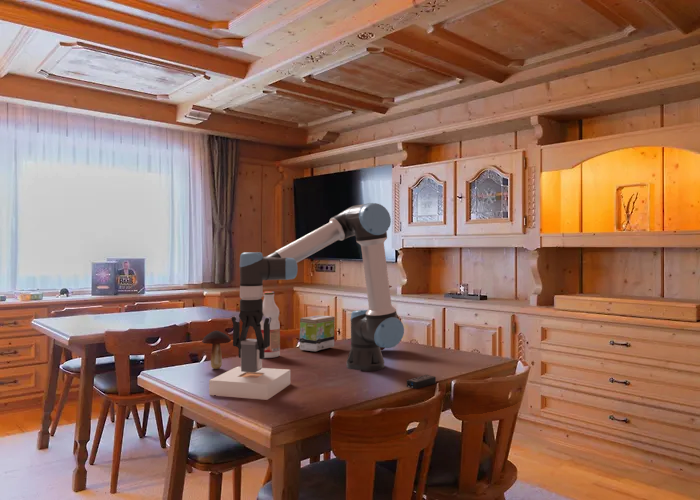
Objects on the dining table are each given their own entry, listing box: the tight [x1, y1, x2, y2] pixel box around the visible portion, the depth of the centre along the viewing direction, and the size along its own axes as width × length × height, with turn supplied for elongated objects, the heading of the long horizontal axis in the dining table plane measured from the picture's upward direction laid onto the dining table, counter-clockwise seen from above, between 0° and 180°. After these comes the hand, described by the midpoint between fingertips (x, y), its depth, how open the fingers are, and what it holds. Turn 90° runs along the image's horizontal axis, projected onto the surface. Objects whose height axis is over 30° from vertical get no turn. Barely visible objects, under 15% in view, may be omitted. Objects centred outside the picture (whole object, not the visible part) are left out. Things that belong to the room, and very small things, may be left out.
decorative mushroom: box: [201, 330, 232, 370], centre depth 207 cm, size 11×11×15 cm
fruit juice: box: [260, 290, 281, 359], centre depth 232 cm, size 9×9×28 cm
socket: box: [208, 366, 291, 401], centre depth 178 cm, size 20×20×5 cm
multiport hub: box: [406, 374, 437, 390], centre depth 185 cm, size 4×11×2 cm, turn 133°
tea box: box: [299, 314, 336, 352], centre depth 249 cm, size 15×10×15 cm, turn 148°
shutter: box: [241, 373, 263, 378], centre depth 178 cm, size 6×6×1 cm
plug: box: [240, 338, 263, 372], centre depth 177 cm, size 5×5×10 cm
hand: (251, 367), depth 177 cm, fingers closed on plug, 5 cm apart
